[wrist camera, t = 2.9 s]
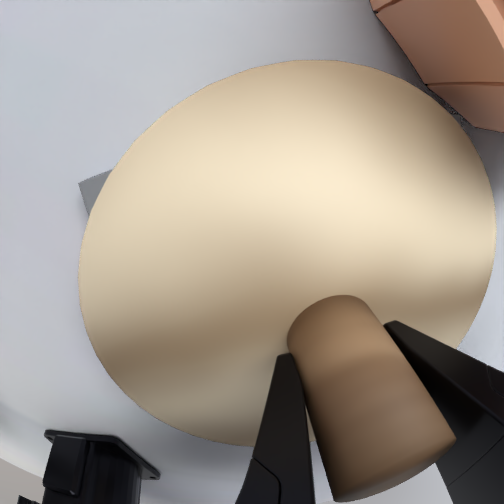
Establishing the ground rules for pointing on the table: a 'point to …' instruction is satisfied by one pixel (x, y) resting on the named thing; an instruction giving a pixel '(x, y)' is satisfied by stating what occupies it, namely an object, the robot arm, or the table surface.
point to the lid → (292, 261)
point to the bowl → (454, 51)
